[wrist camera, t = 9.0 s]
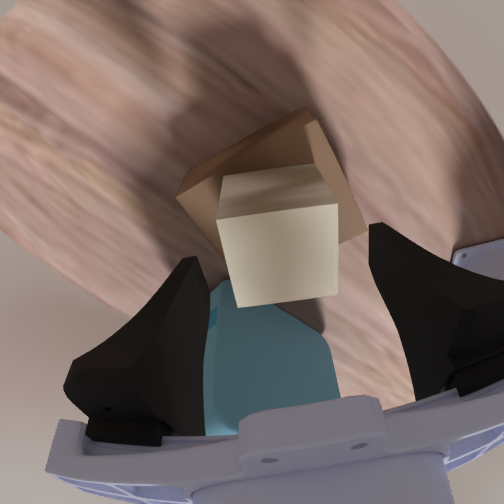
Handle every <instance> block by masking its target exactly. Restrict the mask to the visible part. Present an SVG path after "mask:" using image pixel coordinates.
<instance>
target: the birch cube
mask: <svg viewBox="0 0 504 504" xmlns="http://www.w3.org/2000/svg"><path fill="white" fill-rule="evenodd" d="M216 222H217V226H218V230H219V235H220V239H221V243H222V247H223V251H224V255H225V259H226V263H227V267H228V271H229V275H230V279H231V283H232V287H233V291H234V295H235V299H236V303H237V307H238V308H241V307H250V306H258V305H266V304H274V303H281V302H289V301H296V300H303V299H311V298H317V297H324V296H331V295H337V294H338V203H337V201H336V199H335V198H334V196H333V194H332V192H331V190H330V189H329V187H328V185H327V183H326V182H325V180H324V178H323V177H322V175H321V173H320V171H319V170H318V168H317V166H316V165H315V163H314V164H306V165H297V166H289V167H281V168H274V169H266V170H259V171H252V172H245V173H239V174H232V175H226V176H223V182H222V188H221V193H220V199H219V205H218V211H217V217H216Z"/></svg>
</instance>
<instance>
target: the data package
mask: <svg viewBox="0 0 504 504" xmlns="http://www.w3.org/2000/svg"><path fill="white" fill-rule="evenodd" d="M203 395H204V418H205V432H206V436H219V435H236V434H238V429H239V421H241V420H242V419H244V418H245V417H247V416H248V415H250V414H251V413H256V412H260V411H264V410H269V409H277V408H285V407H292V406H298V405H305V404H311V403H316V402H322V401H327V400H333V399H338V398H341V397H340V392H339V387H338V383H337V378H336V373H335V369H334V364H333V360H332V356H331V351H330V348H329V346H328V344H327V342H326V340H325V339H324V338H323V336H322V335H321V334H320V333H318V332H317V331H315V330H314V329H312V328H311V327H309V326H307V325H306V324H304V323H303V322H301V321H299V320H298V319H296V318H295V317H293V316H291V315H290V314H288V313H287V312H285V311H283V310H282V309H280V308H279V307H277V306H275V305H274V304H266V305H258V306H250V307H241V308H238V307H237V303H236V299H235V295H234V291H233V287H232V283H231V279H227V280H224V281H222V282H221V283H220V284H219V285H218V286H217V287H216V288H215V289H214V290H213V291H212V292H211V293H210V319H209V326H208V333H207V340H206V347H205V354H204V365H203Z"/></svg>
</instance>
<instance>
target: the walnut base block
mask: <svg viewBox="0 0 504 504" xmlns="http://www.w3.org/2000/svg"><path fill="white" fill-rule="evenodd" d="M314 163H315V165H316V166H317V168H318V170H319V171H320V173H321V175H322V177H323V178H324V180H325V182H326V183H327V185H328V187H329V189H330V190H331V192H332V194H333V196H334V198H335V199H336V201H337V203H338V244H341V243H343V242H345V241H347V240H349V239H351V238H353V237H355V236H357V235H359V234H361V233H363V232H365V231H367V230H368V229H367V227H366V224H365V222H364V219H363V217H362V215H361V212H360V210H359V208H358V205H357V203H356V201H355V198H354V196H353V194H352V191H351V189H350V187H349V185H348V182H347V180H346V178H345V176H344V174H343V172H342V169H341V167H340V165H339V163H338V161H337V159H336V157H335V155H334V153H333V151H332V149H331V147H330V144H329V142H328V140H327V138H326V136H325V134H324V133H323V131H322V129H321V127H320V125H319V123H318V121H317V119H316V118H315V117H314V116H313V115H312V114H311V113H309V112H308V111H307V110H306V109H305V108H304V107H302V108H300V109H298V110H296V111H294V112H293V113H291V114H289V115H287V116H285V117H283V118H281V119H279V120H277V121H275V122H273V123H271V124H270V125H268V126H266V127H264V128H262V129H260V130H258V131H257V132H255V133H253V134H251V135H249V136H248V137H246V138H244V139H242V140H240V141H239V142H237V143H235V144H233V145H232V146H230V147H228V148H226V149H225V150H223V151H221V152H220V153H218V154H216V155H215V156H213V157H211V158H210V159H208V160H206V161H205V162H203V163H201V164H200V165H198V166H196V167H195V168H193V169H192V170H190V171H188V172H187V174H186V176H185V178H184V180H183V182H182V184H181V187H180V189H179V191H178V193H177V195H176V199H177V200H178V202H179V203H180V204H181V205H182V207H183V208H184V209H185V211H186V212H187V213H188V215H189V216H190V217H191V219H192V220H193V221H194V222H195V224H196V225H197V226H198V228H199V229H200V230H201V231H202V233H203V234H204V235H205V237H206V238H207V239H208V240H209V242H210V243H211V244H212V246H213V247H214V248H215V249H216V251H217V252H218V253H219V255H220V256H221V257H222V258H223V260H224V261H225V262H226V259H225V255H224V251H223V247H222V243H221V239H220V235H219V230H218V226H217V222H216V217H217V211H218V205H219V199H220V193H221V188H222V182H223V176H226V175H232V174H239V173H245V172H252V171H259V170H266V169H274V168H281V167H289V166H297V165H306V164H314Z"/></svg>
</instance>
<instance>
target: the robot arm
mask: <svg viewBox="0 0 504 504" xmlns="http://www.w3.org/2000/svg"><path fill="white" fill-rule="evenodd" d="M369 267H370V270H371V273H372V276H373V278H374V281H375V284H376V286H377V288H378V290H379V292H380V294H381V296H382V298H383V300H384V302H385V304H386V306H387V308H388V310H389V312H390V315H391V317H392V319H393V321H394V323H395V325H396V328H397V330H398V333H399V336H400V339H401V342H402V346H403V349H404V352H405V356H406V359H407V363H408V367H409V371H410V375H411V379H412V384H413V388H414V394H415V399H416V401H415V402H412V403H409V404H405V405H402V406H398V407H395V408H391V409H387V410H383V411H382V407H381V404H380V401H379V399H377V398H375V397H371V396H367V395H357V396H347V397H343V398H338V399H333V400H327V401H322V402H316V403H311V404H305V405H298V406H292V407H285V408H277V409H269V410H264V411H260V412H256V413H251V414H250V415H248V416H247V417H245V418H244V419H242V420H241V421H239V429H238V434H236V435H219V436H206V432H205V418H204V395H203V365H204V354H205V347H206V340H207V333H208V326H209V319H210V290H209V288H208V285H207V283H206V280H205V277H204V275H203V272H202V269H201V267H200V264H199V261H198V259H197V256H193V257H188V258H183V259H182V260H181V261H180V262H179V264H178V265H177V266H176V267H175V269H174V270H173V271H172V273H171V274H170V275H169V277H168V278H167V279H166V281H165V282H164V283H163V284H162V286H161V287H160V288H159V289H158V291H157V292H156V293H155V294H154V295H153V297H152V298H151V299H150V300H149V301H148V302H147V304H146V305H145V306H144V307H143V308H142V309H141V310H140V311H139V312H138V313H137V314H136V315H135V316H134V317H133V318H132V319H131V320H130V321H129V322H128V323H126V324H125V325H124V326H123V327H122V328H121V329H119V330H118V331H117V332H116V333H115V334H113V335H112V336H111V337H109V338H108V339H107V340H106V341H104V342H103V343H101V344H100V345H98V346H97V347H95V348H94V349H92V350H91V351H89V352H87V353H85V354H84V355H82V356H80V357H78V358H77V359H75V360H73V362H72V364H71V367H70V369H69V372H68V375H67V378H66V380H65V383H64V386H63V389H64V392H65V394H66V396H67V397H68V398H69V400H71V402H72V403H73V404H75V406H77V407H78V408H79V409H80V410H81V411H82V412H83V413H84V414H86V415H87V416H88V417H89V420H88V424H85V423H83V422H79V421H73V420H64V419H60V420H59V423H58V425H57V429H56V432H55V435H54V439H53V442H52V446H51V450H50V453H49V457H48V461H47V465H46V469H45V471H46V472H47V473H49V474H50V475H52V476H54V477H56V478H58V479H59V480H61V481H63V482H65V483H67V484H69V485H71V486H73V487H75V488H76V489H79V490H81V491H83V492H86V493H90V494H93V495H97V496H102V497H106V498H110V499H115V500H119V501H124V502H129V503H134V504H454V500H453V495H452V491H451V487H450V484H449V480H448V476H447V472H449V471H451V470H453V469H456V468H457V467H460V466H462V465H464V464H466V463H468V462H470V461H472V460H474V459H476V458H478V457H480V456H482V455H483V454H485V453H487V452H489V451H491V450H492V449H494V448H496V447H498V446H500V445H501V444H503V443H504V239H500V240H496V241H492V242H488V243H484V244H480V245H476V246H471V247H467V248H463V249H459V250H457V251H455V253H454V255H453V260H452V263H450V262H448V261H446V260H444V259H442V258H440V257H438V256H436V255H434V254H432V253H431V252H429V251H427V250H425V249H424V248H422V247H420V246H419V245H417V244H416V243H414V242H412V241H411V240H409V239H408V238H406V237H405V236H403V235H402V234H400V233H399V232H397V231H396V230H394V229H393V228H391V227H390V226H388V225H386V224H385V223H383V222H380V223H375V224H369Z"/></svg>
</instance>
